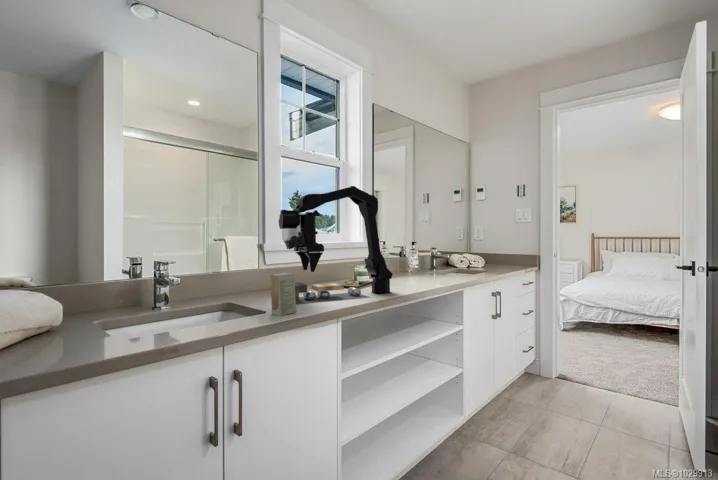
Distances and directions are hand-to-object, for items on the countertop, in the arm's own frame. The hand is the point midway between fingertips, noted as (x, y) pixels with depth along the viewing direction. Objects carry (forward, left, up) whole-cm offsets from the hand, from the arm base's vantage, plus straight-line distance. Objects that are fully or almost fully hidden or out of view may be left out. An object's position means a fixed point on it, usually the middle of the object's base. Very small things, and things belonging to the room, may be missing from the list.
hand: (308, 271), depth 138 cm
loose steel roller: (0, 0, -10) cm, 11 cm away
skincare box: (+14, +20, -11) cm, 27 cm away
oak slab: (-7, 0, -7) cm, 10 cm away
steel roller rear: (-19, 0, -10) cm, 22 cm away
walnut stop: (+5, 0, -11) cm, 12 cm away
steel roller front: (-5, 0, -10) cm, 11 cm away
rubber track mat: (-7, 0, -11) cm, 13 cm away
